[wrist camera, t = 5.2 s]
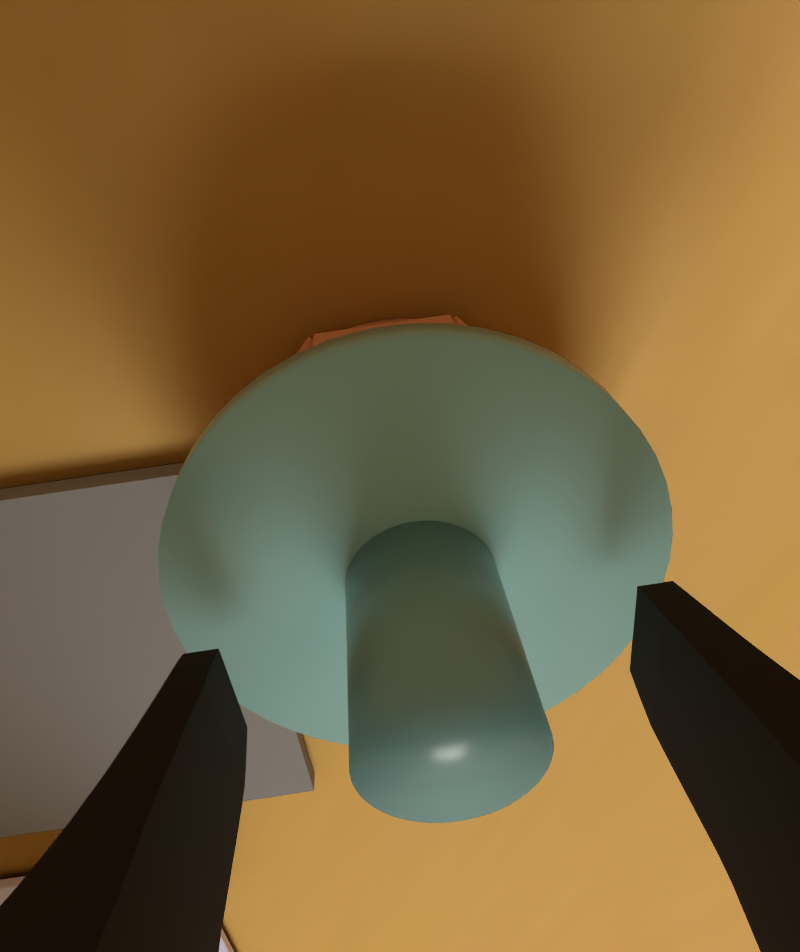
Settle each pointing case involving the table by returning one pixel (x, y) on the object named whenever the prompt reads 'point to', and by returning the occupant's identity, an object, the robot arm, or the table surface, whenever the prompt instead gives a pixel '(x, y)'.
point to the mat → (93, 645)
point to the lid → (417, 554)
